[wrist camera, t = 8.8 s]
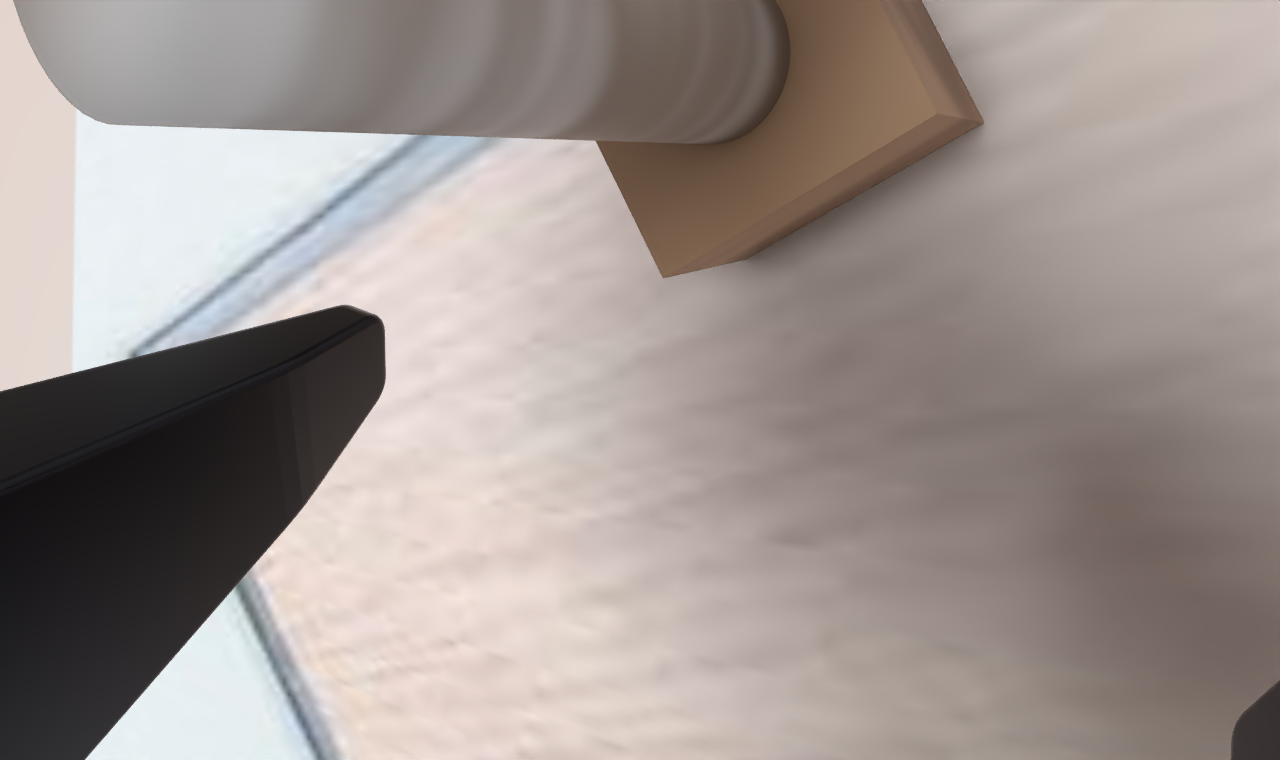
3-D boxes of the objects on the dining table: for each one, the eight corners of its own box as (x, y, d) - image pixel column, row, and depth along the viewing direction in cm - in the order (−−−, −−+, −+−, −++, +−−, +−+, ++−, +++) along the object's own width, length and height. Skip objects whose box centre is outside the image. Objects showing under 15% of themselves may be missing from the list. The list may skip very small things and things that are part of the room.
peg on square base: (984, 122, 17) (495, 30, 5) (745, 259, 21) (100, 405, 8) (851, -137, 18) (81, -822, 5) (637, 40, 21) (-142, -130, 9)
